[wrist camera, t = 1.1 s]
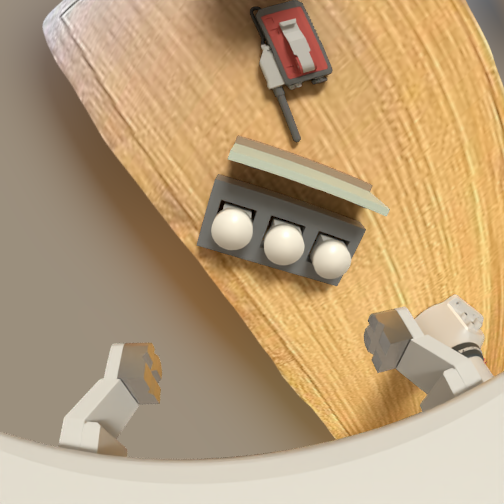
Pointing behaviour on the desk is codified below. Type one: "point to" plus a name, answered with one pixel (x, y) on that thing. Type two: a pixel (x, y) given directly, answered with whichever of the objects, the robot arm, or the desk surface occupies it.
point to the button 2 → (330, 257)
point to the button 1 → (232, 227)
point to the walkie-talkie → (289, 52)
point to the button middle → (283, 242)
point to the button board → (283, 208)
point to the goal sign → (305, 172)
